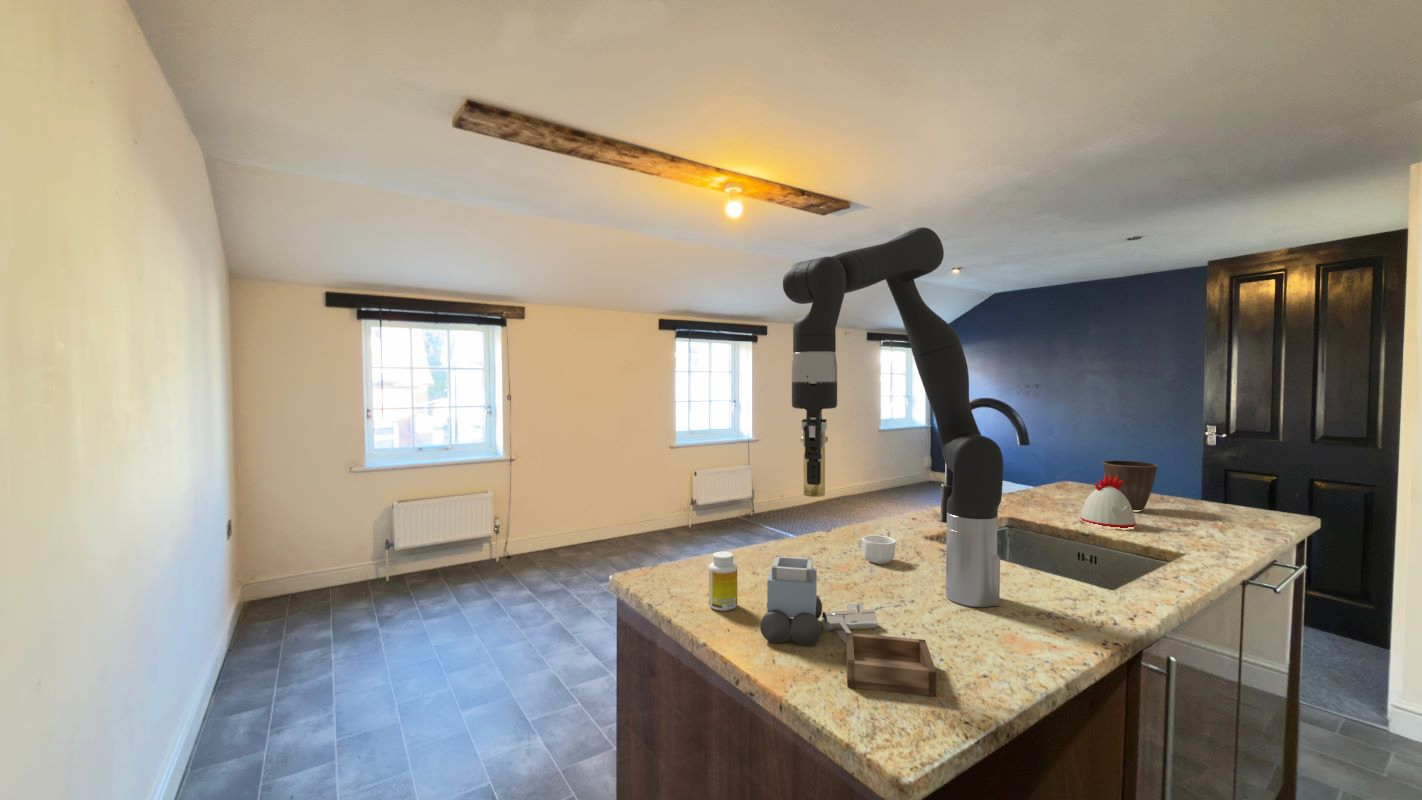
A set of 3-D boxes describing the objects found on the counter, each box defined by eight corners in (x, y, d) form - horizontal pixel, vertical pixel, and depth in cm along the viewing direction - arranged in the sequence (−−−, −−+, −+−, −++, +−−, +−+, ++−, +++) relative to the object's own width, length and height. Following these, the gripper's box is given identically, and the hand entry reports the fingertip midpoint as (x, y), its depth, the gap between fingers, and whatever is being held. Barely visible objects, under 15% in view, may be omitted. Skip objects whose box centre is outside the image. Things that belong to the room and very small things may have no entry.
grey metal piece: (869, 623, 104) (821, 625, 103) (870, 599, 103) (822, 601, 102) (893, 651, 94) (840, 654, 93) (893, 625, 93) (840, 628, 92)
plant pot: (1115, 514, 187) (1117, 466, 186) (1093, 504, 202) (1094, 459, 201) (1166, 516, 184) (1167, 467, 184) (1140, 506, 199) (1141, 460, 199)
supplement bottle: (742, 608, 109) (742, 556, 109) (716, 614, 107) (716, 560, 107) (729, 599, 114) (729, 548, 114) (704, 603, 112) (704, 552, 112)
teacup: (902, 562, 138) (902, 540, 138) (883, 568, 133) (883, 545, 133) (867, 552, 146) (867, 531, 145) (848, 558, 141) (848, 536, 141)
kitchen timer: (1147, 530, 167) (1148, 479, 166) (1099, 530, 167) (1100, 479, 166) (1114, 519, 181) (1115, 472, 180) (1070, 519, 181) (1071, 472, 180)
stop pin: (828, 492, 97) (828, 435, 97) (827, 497, 93) (827, 438, 93) (801, 491, 98) (801, 435, 98) (799, 496, 94) (799, 437, 94)
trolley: (822, 619, 104) (822, 555, 104) (820, 647, 93) (821, 575, 93) (767, 615, 106) (767, 551, 106) (760, 641, 95) (760, 571, 95)
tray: (924, 661, 89) (925, 639, 88) (936, 696, 79) (936, 671, 79) (845, 654, 91) (846, 632, 91) (847, 686, 81) (847, 662, 81)
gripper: (795, 380, 103) (795, 474, 103) (787, 380, 89) (787, 489, 89) (837, 379, 101) (837, 476, 102) (836, 379, 87) (836, 491, 88)
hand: (814, 481), depth 95 cm, fingers closed on stop pin, 3 cm apart
